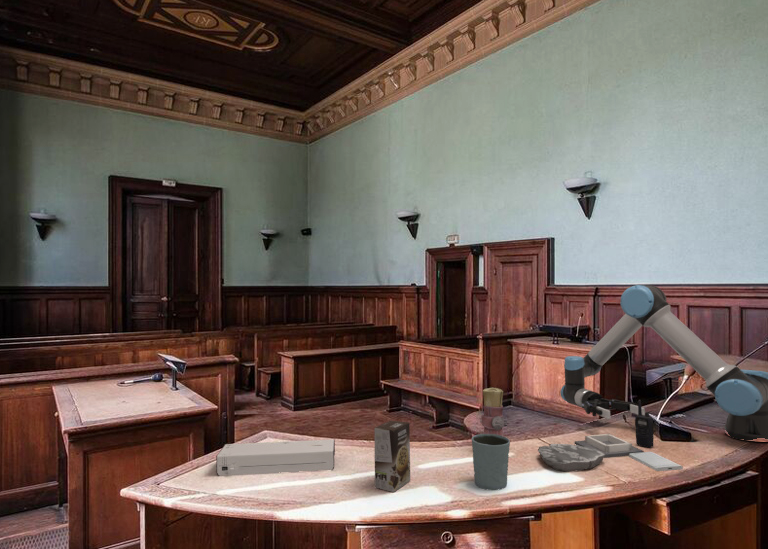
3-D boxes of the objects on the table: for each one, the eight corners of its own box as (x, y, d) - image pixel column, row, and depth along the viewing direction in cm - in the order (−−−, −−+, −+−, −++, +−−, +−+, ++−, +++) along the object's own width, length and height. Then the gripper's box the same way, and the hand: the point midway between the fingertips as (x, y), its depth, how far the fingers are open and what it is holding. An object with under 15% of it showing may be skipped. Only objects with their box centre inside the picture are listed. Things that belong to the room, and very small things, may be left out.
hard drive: (628, 453, 151) (656, 467, 138) (652, 451, 152) (682, 465, 140) (628, 458, 151) (657, 473, 138) (652, 456, 152) (683, 471, 140)
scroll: (480, 455, 154) (479, 391, 155) (480, 447, 162) (478, 387, 162) (505, 456, 153) (503, 392, 154) (503, 448, 160) (502, 387, 161)
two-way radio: (634, 445, 161) (632, 399, 162) (639, 442, 164) (638, 397, 165) (651, 449, 157) (650, 402, 158) (657, 446, 160) (655, 400, 161)
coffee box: (394, 493, 127) (393, 430, 127) (374, 488, 130) (373, 427, 131) (411, 481, 134) (410, 422, 135) (391, 476, 138) (390, 419, 138)
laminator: (334, 458, 155) (334, 439, 155) (334, 473, 142) (334, 451, 143) (225, 464, 152) (225, 443, 152) (215, 479, 139) (215, 457, 140)
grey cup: (470, 476, 137) (469, 433, 137) (506, 476, 137) (505, 433, 137) (475, 491, 127) (474, 445, 127) (514, 491, 126) (513, 444, 127)
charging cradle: (614, 440, 166) (613, 431, 166) (643, 454, 153) (643, 444, 153) (574, 444, 163) (574, 435, 163) (601, 458, 150) (600, 448, 150)
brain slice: (568, 449, 159) (568, 440, 159) (614, 465, 144) (613, 455, 144) (522, 459, 150) (522, 449, 151) (565, 478, 135) (565, 467, 135)
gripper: (618, 408, 192) (658, 422, 171) (560, 412, 187) (595, 427, 167) (617, 388, 193) (657, 400, 172) (560, 392, 188) (594, 405, 167)
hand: (626, 413), depth 169 cm, fingers open, 13 cm apart
